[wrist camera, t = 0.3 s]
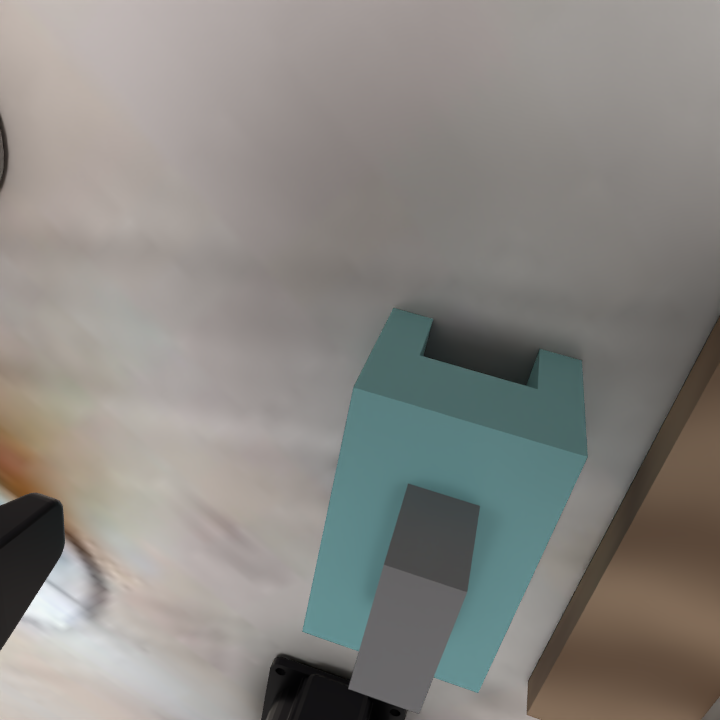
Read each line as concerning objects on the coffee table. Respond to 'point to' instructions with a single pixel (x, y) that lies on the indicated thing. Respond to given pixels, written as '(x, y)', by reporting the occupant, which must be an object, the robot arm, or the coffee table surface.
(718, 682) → the cleat board
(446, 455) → the grooved box
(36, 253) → the coffee table surface
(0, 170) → the travel mug
